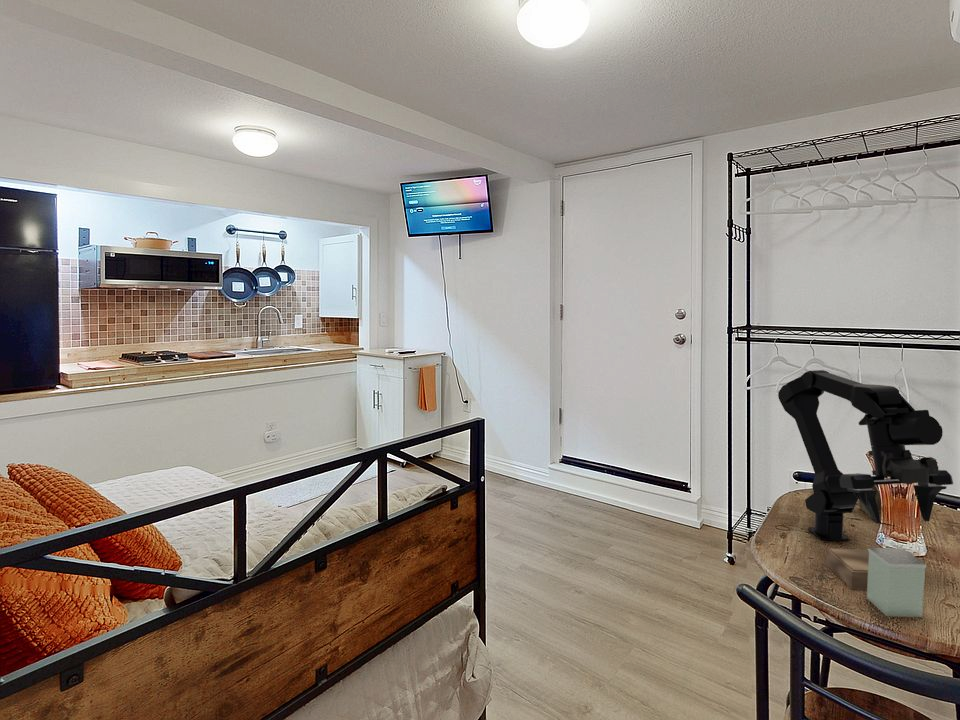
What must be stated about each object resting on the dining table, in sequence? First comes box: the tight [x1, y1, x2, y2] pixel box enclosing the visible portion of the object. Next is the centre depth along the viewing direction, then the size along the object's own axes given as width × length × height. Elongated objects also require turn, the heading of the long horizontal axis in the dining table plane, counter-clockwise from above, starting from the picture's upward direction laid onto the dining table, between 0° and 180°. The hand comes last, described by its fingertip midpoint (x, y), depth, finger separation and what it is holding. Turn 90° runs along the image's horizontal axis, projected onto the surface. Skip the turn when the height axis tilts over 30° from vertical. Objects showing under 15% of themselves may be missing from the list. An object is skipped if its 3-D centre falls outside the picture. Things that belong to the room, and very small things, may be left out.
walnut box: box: [825, 548, 869, 591], centre depth 111 cm, size 10×10×4 cm
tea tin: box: [866, 547, 927, 618], centre depth 100 cm, size 6×6×10 cm
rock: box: [858, 485, 881, 522], centre depth 140 cm, size 11×9×10 cm
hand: (902, 522), depth 110 cm, fingers open, 9 cm apart
